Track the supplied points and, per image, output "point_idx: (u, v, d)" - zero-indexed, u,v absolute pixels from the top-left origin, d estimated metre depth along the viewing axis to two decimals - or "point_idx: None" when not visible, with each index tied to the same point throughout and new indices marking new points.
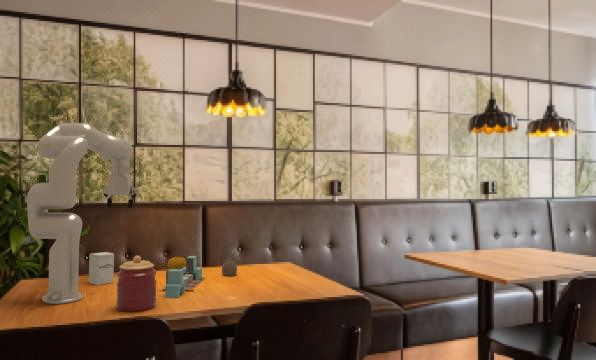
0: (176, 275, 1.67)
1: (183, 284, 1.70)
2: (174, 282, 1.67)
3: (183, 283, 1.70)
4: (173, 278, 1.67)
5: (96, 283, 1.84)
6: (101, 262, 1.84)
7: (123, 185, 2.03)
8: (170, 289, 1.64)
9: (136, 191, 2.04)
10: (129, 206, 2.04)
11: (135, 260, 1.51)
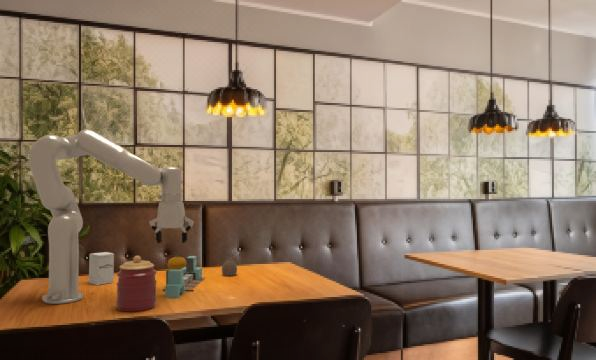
0: (176, 275, 1.67)
1: (183, 284, 1.70)
2: (174, 282, 1.67)
3: (183, 283, 1.70)
4: (173, 278, 1.67)
5: (96, 283, 1.84)
6: (101, 262, 1.84)
7: (176, 216, 1.69)
8: (170, 289, 1.64)
9: (191, 222, 1.71)
10: (183, 241, 1.70)
11: (135, 260, 1.51)
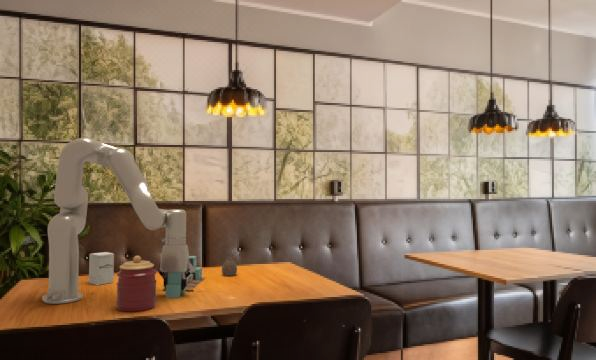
0: (176, 275, 1.67)
1: None
2: (174, 282, 1.67)
3: None
4: (173, 278, 1.67)
5: (96, 283, 1.84)
6: (101, 262, 1.84)
7: (180, 260, 1.66)
8: (170, 289, 1.64)
9: (192, 270, 1.68)
10: (182, 288, 1.67)
11: (135, 260, 1.51)
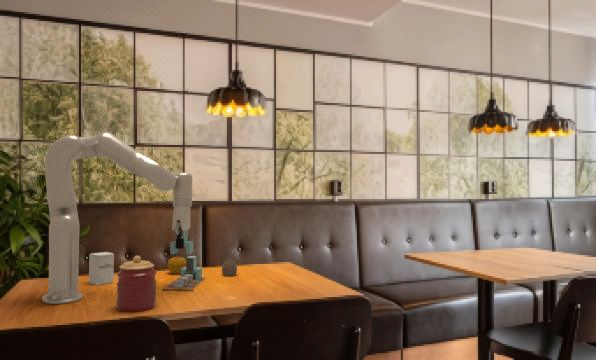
0: None
1: (185, 245, 1.77)
2: None
3: (185, 244, 1.77)
4: None
5: (96, 283, 1.84)
6: (101, 262, 1.84)
7: None
8: None
9: None
10: None
11: (135, 260, 1.51)
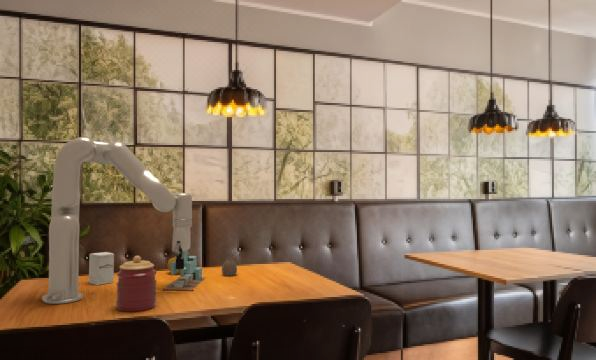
0: None
1: (185, 265, 1.77)
2: None
3: (185, 264, 1.77)
4: None
5: (96, 283, 1.84)
6: (101, 262, 1.84)
7: None
8: None
9: None
10: None
11: (135, 260, 1.51)
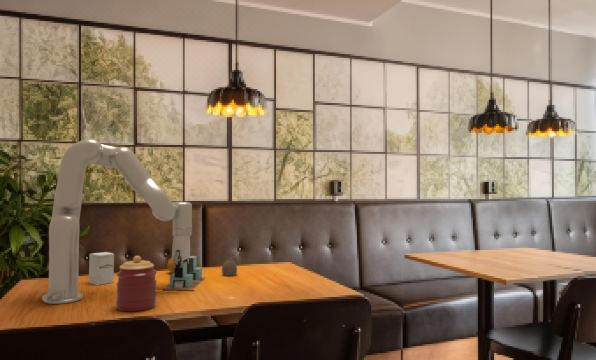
0: None
1: (184, 278, 1.76)
2: None
3: (184, 277, 1.76)
4: None
5: (96, 283, 1.84)
6: (101, 262, 1.84)
7: None
8: None
9: None
10: (174, 275, 1.75)
11: (135, 260, 1.51)
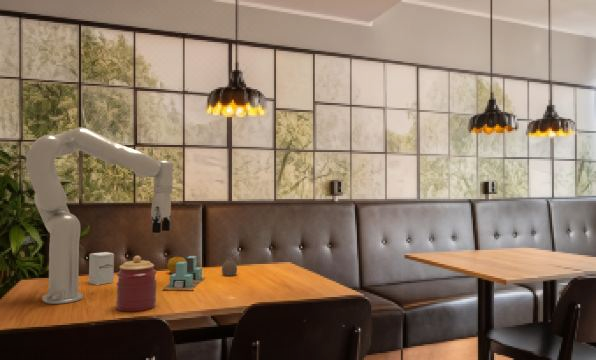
0: None
1: (184, 278, 1.76)
2: None
3: (184, 277, 1.76)
4: None
5: (96, 283, 1.84)
6: (101, 262, 1.84)
7: None
8: None
9: None
10: (152, 230, 1.77)
11: (135, 260, 1.51)
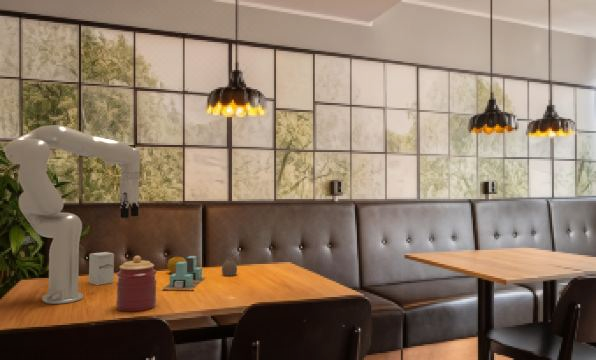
0: None
1: (184, 278, 1.76)
2: None
3: (184, 277, 1.76)
4: None
5: (96, 283, 1.84)
6: (101, 262, 1.84)
7: None
8: None
9: None
10: None
11: (135, 260, 1.51)
